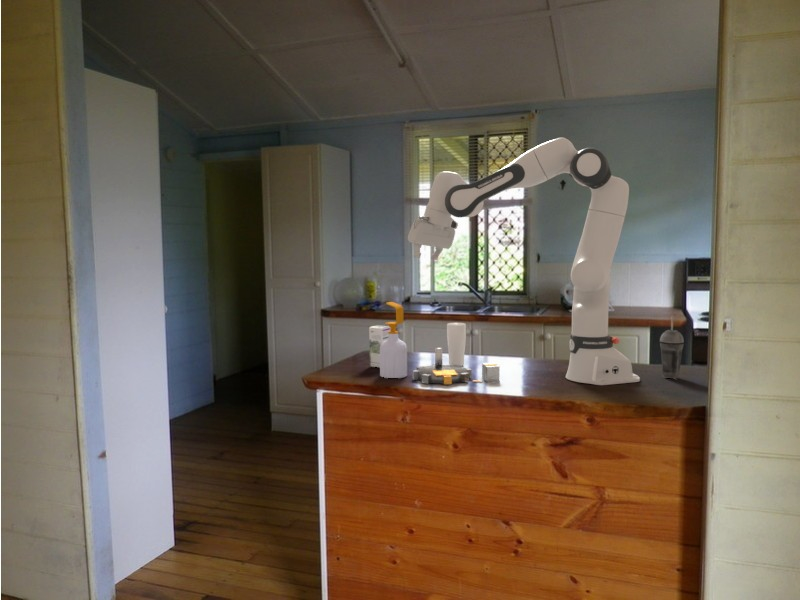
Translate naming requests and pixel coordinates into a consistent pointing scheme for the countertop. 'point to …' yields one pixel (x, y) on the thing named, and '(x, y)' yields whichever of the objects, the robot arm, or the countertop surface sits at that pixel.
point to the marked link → (490, 372)
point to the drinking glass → (456, 343)
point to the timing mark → (476, 381)
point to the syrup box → (377, 343)
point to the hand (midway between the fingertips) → (425, 258)
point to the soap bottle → (393, 349)
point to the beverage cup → (671, 352)
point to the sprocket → (441, 372)
